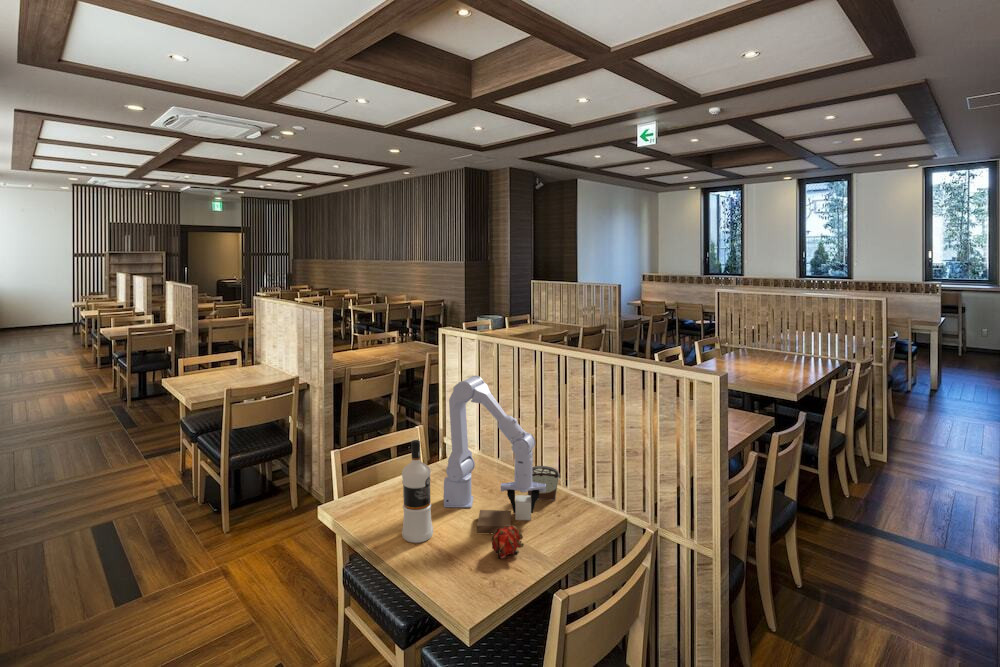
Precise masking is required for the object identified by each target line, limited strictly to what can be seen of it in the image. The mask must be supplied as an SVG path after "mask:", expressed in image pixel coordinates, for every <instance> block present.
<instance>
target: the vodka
mask: <svg viewBox="0 0 1000 667" xmlns="http://www.w3.org/2000/svg"><path fill="white" fill-rule="evenodd" d="M410 445H411V447H410V448H411V462H410V463H408V464H407V465H405V466H404V467H403V469H402V471H401V477H402V481H401V482H402V492H403V504H402V508H403V519H402V520H403V523H402V529H401V536H402V538H403V539H404V540H405V541H406V542H409V543H412V544H419V543H424V542H426V541H428V540H429V539H431V537H432V536H433V535H434V526H433V523H432V512H431V510H432V503H431V472H432V471H431V468H430V467H429V466H428V464H426V463H425V462H422V461H421V441H420V440H418V439H415V440H412V441H411V442H410Z"/></svg>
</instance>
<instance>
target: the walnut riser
mask: <svg viewBox="0 0 1000 667" xmlns="http://www.w3.org/2000/svg"><path fill="white" fill-rule="evenodd" d="M511 523H512V510H502V509H501V510H498V509H497V510H495V509H479V512H478V519H477V525H476V533H489V534H488V535H494V534H495V532H496V530H497V529H499V528H500V529H502V528H504V526H505V525H506V526H509V527H510V526H512V525H511ZM491 533H493V534H491Z"/></svg>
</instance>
